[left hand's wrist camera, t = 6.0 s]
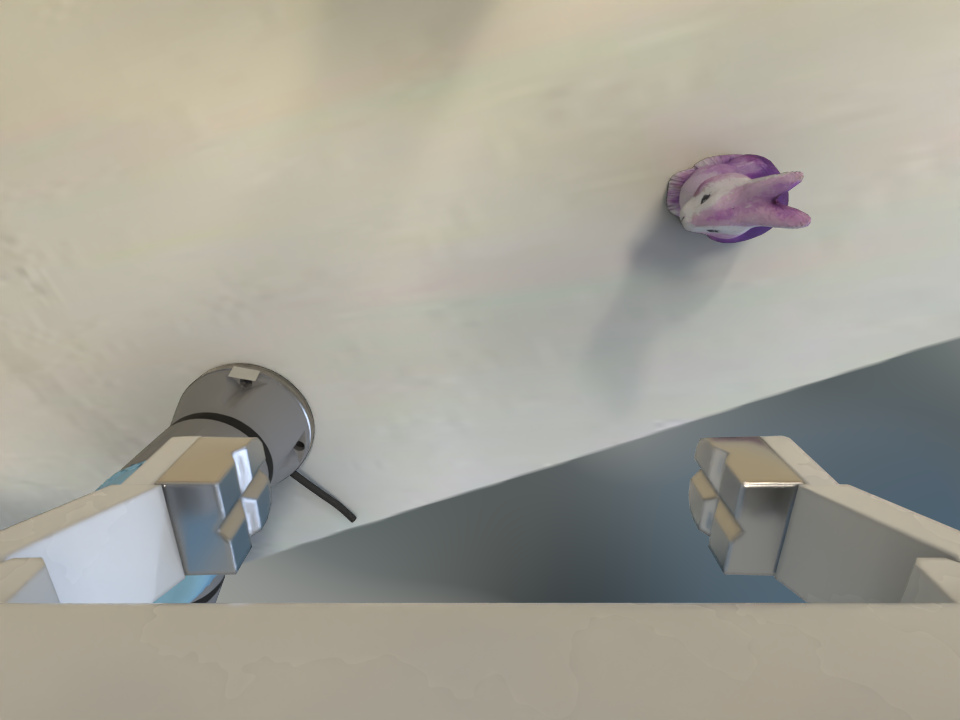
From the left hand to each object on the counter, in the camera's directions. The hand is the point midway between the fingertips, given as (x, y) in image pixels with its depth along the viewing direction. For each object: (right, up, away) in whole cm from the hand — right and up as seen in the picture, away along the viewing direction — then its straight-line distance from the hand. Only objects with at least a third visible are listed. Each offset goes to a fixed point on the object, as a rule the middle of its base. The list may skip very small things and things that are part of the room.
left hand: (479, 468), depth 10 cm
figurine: (+23, +18, +44) cm, 53 cm away
